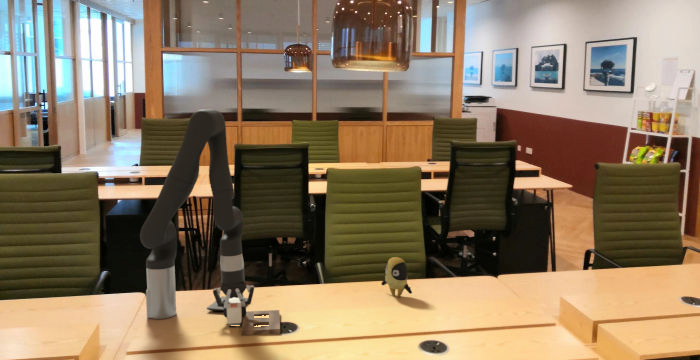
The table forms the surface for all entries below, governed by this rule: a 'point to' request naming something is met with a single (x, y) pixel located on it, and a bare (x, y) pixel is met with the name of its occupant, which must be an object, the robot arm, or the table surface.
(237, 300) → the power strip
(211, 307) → the electrical outlet
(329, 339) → the table surface
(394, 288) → the figurine
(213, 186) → the robot arm
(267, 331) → the brown wooden slotted board
